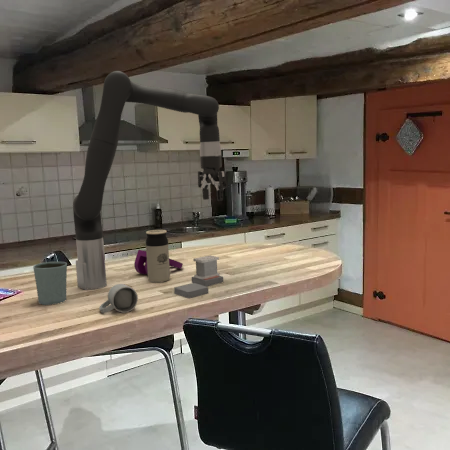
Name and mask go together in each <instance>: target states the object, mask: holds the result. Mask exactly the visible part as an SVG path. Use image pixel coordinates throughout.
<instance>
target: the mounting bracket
mask: <svg viewBox="0 0 450 450" xmlns="http://www.w3.org/2000/svg"><path fill="white" fill-rule="evenodd" d="M183 265H184V263H182V262H180V261H177V260H174V259H172V258H169V267H170V268H171V267H172V268H175V269H179V270H182V269H183ZM133 266H134V271H136V272H137V274H142V275H148V270H147V254H146V250H142V249H138V250H137V253H136V257H135V260H134V264H133Z"/></svg>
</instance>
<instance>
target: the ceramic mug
mask: <svg viewBox="0 0 450 450" xmlns="http://www.w3.org/2000/svg"><path fill="white" fill-rule="evenodd" d="M136 291H137V290H135V289H134V288H133V287H131V286H129V285H126V283H125V284H124V283H116V284H114V285H112V287H110V289H109V290H108V292H107V300H105V301H104V302H103V303H101V304H100V305H99V308H98V309H99V311H100V313H101V314H107V313H109V312H111V311H113V310H115V311H116V312H119V313H122V314H124V313H125V314H126V313H129V312H131V311H132V310H134V309H135V308H136V306H137V304H138V299H139V298H138V297H139V296H138V293H137V292H136Z"/></svg>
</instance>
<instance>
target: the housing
mask: <svg viewBox="0 0 450 450" xmlns="http://www.w3.org/2000/svg"><path fill="white" fill-rule="evenodd" d="M192 260H193V262H195V271H196V272H195V273H196V274H193V277H196V278H199V279H202V280H203V279H207V278H211V277H216V276H221V275H220V273H219V272H218V260H220V257H219V256H215V255H212V254H211V255H205V256H200V257H195V258H193V259H192Z"/></svg>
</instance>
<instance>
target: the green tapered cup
mask: <svg viewBox="0 0 450 450" xmlns="http://www.w3.org/2000/svg"><path fill="white" fill-rule="evenodd" d="M32 269H33V274H34V281H35V284H36V293H37V301H38V304H39V305H41V304H42V305H43V306H52V304H53V305H57V304H58V303H59V304H62V303H64V302H66V301H67V285H68V284H67V278H68V275H67V273H68V272H67V271H68V263H67V262H65V261H45V262H40V263H36V264H34V265H33V266H32ZM65 300H66V301H65ZM61 302H62V303H61ZM42 305H41V306H42Z"/></svg>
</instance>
